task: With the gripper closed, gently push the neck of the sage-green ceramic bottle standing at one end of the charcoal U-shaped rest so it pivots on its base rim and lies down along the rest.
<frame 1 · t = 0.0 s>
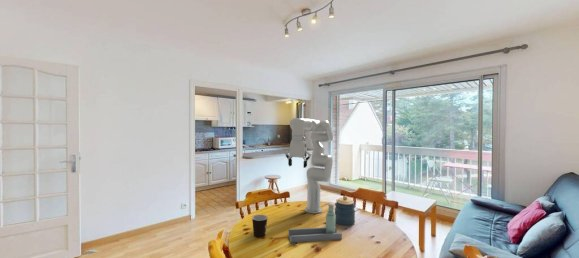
hand: (297, 166, 144), 37 cm above the table, tool pointing down, fingers open, 9 cm apart
u rest: (314, 238, 131), on the table
coffee mug: (261, 234, 135), on the table
canister: (344, 223, 153), on the table
bottle: (330, 235, 133), point 1 cm above the table, touching u rest
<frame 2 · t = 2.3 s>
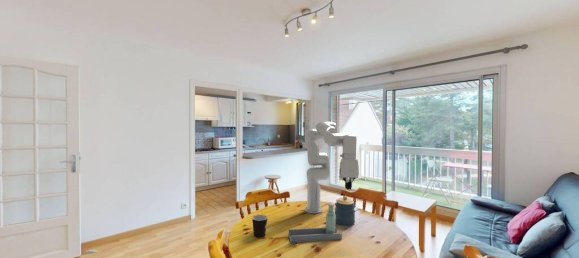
hand: (348, 188, 134), 27 cm above the table, tool pointing down, fingers closed
nothing on the table moved.
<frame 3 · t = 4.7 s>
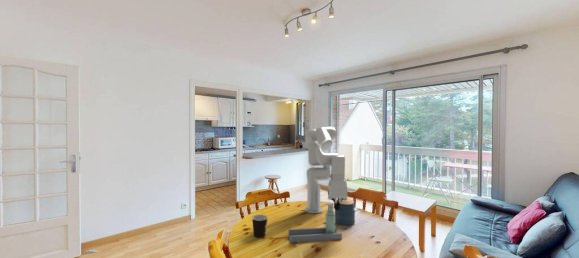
hand: (336, 209, 133), 16 cm above the table, tool pointing down, fingers closed
bottle: (330, 235, 133), point 1 cm above the table, touching gripper, u rest
everything else where it was.
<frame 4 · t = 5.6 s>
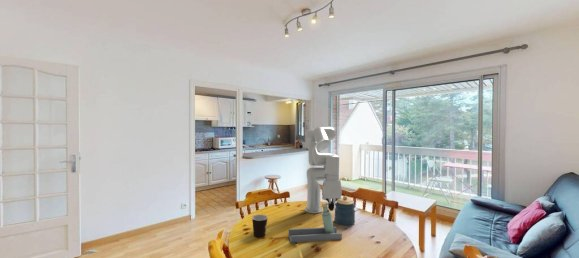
hand: (331, 209, 132), 16 cm above the table, tool pointing down, fingers closed
bottle: (330, 234, 133), point 2 cm above the table, tilted 12°, touching gripper, u rest
everything else where it was.
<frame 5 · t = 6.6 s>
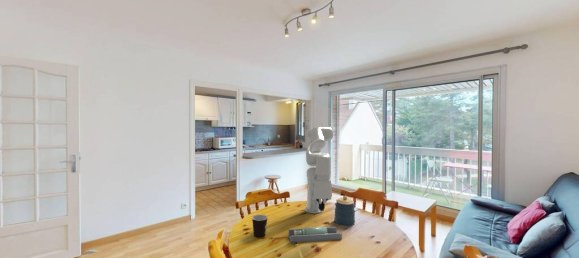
hand: (321, 210, 131), 16 cm above the table, tool pointing down, fingers closed
bottle: (325, 231, 132), point 4 cm above the table, tilted 90°, touching u rest
everything else where it was.
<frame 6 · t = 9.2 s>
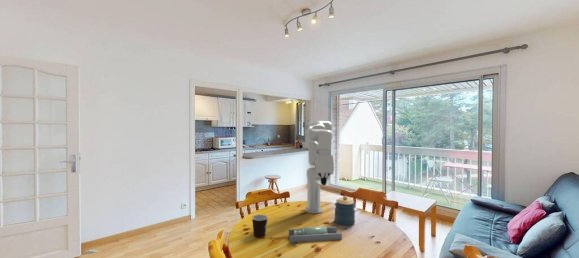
hand: (323, 184, 134), 29 cm above the table, tool pointing down, fingers closed
nothing on the table moved.
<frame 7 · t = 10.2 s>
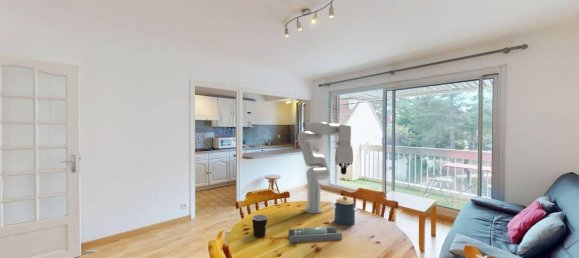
hand: (343, 173, 146), 33 cm above the table, tool pointing down, fingers closed
nothing on the table moved.
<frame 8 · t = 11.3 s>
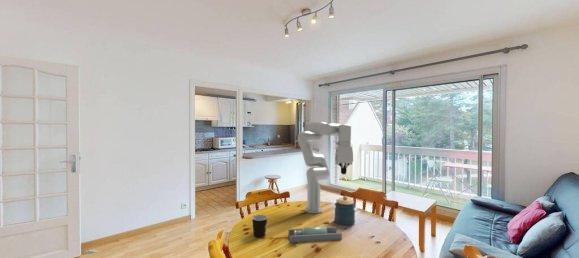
hand: (343, 173, 146), 33 cm above the table, tool pointing down, fingers closed
nothing on the table moved.
at the end: bottle tilted 90°; bottle inside the target area on the u rest (1.3 cm from its centre), point 3.6 cm above the u rest's base; bottle touching u rest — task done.
